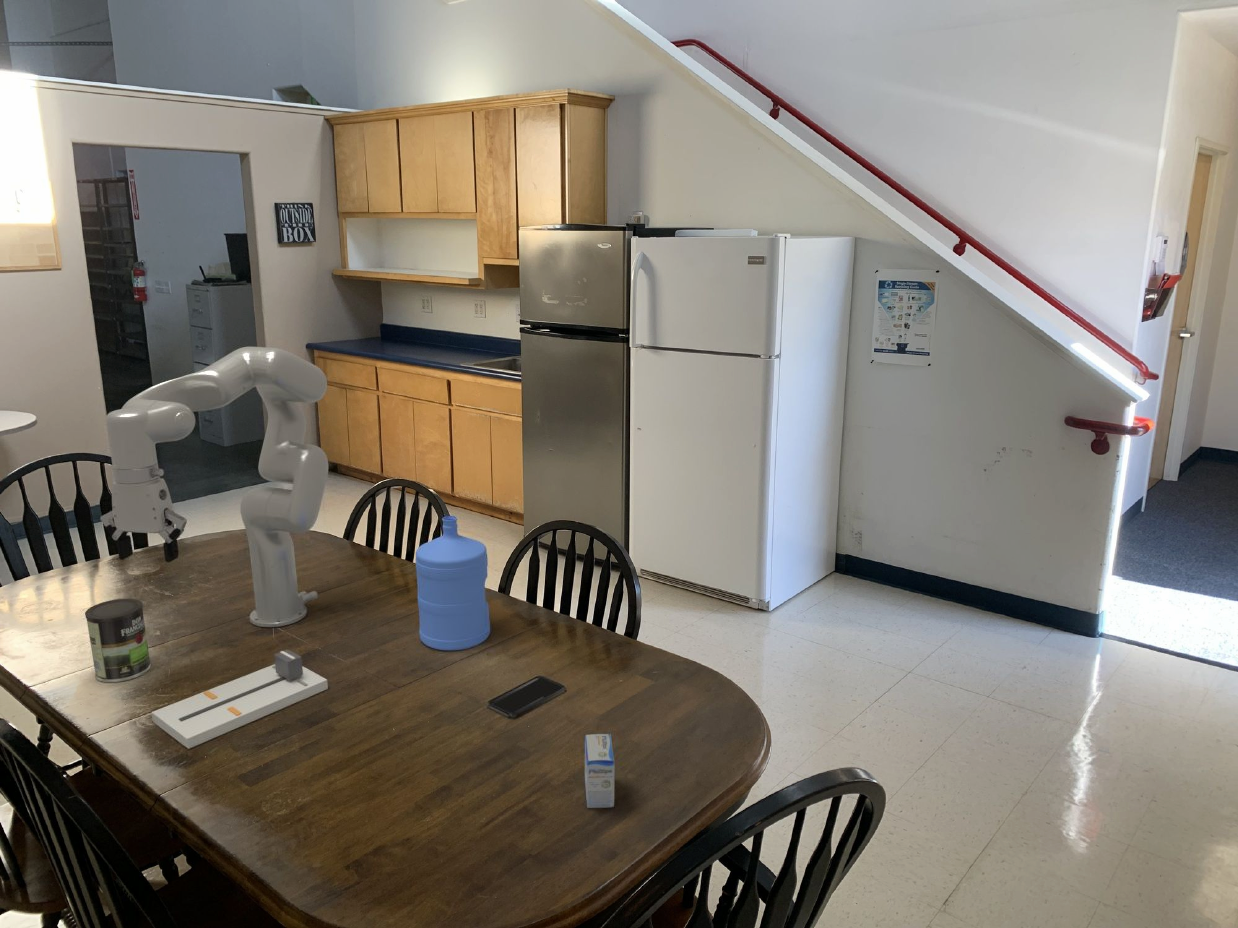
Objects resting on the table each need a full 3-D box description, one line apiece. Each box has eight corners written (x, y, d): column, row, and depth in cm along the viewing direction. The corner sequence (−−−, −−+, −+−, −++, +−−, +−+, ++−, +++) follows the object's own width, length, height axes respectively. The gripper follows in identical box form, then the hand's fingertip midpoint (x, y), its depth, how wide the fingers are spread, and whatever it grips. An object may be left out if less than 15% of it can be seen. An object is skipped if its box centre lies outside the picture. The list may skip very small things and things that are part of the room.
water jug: (458, 658, 193) (452, 534, 186) (405, 641, 201) (397, 521, 194) (504, 631, 206) (500, 514, 199) (452, 616, 214) (447, 503, 207)
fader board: (289, 667, 189) (288, 657, 188) (327, 688, 180) (327, 678, 180) (152, 721, 168) (151, 711, 168) (188, 748, 160) (186, 737, 159)
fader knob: (289, 667, 184) (287, 648, 183) (303, 674, 181) (301, 655, 180) (275, 672, 182) (273, 653, 180) (289, 680, 178) (287, 661, 177)
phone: (484, 703, 174) (539, 674, 185) (484, 708, 174) (539, 679, 185) (512, 716, 169) (567, 686, 180) (512, 722, 169) (567, 691, 180)
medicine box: (584, 779, 151) (584, 733, 149) (611, 778, 151) (611, 732, 149) (586, 809, 143) (586, 761, 141) (614, 807, 144) (614, 759, 142)
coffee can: (162, 661, 191) (153, 600, 188) (127, 685, 182) (117, 620, 178) (119, 657, 193) (110, 595, 190) (83, 680, 184) (72, 616, 180)
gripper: (190, 470, 174) (201, 553, 178) (108, 467, 176) (121, 549, 180) (166, 481, 166) (178, 568, 171) (81, 477, 169) (95, 563, 173)
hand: (149, 558), depth 176 cm, fingers open, 9 cm apart
